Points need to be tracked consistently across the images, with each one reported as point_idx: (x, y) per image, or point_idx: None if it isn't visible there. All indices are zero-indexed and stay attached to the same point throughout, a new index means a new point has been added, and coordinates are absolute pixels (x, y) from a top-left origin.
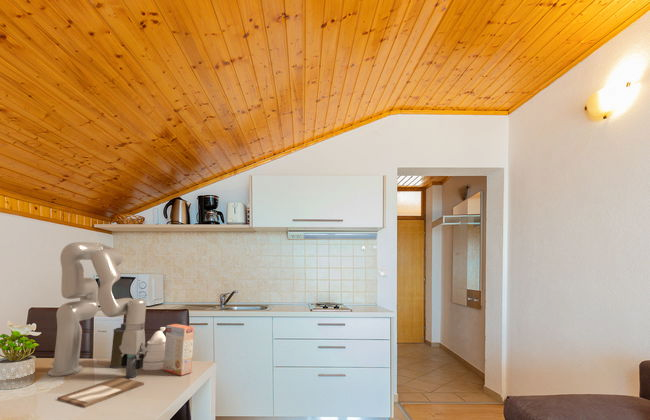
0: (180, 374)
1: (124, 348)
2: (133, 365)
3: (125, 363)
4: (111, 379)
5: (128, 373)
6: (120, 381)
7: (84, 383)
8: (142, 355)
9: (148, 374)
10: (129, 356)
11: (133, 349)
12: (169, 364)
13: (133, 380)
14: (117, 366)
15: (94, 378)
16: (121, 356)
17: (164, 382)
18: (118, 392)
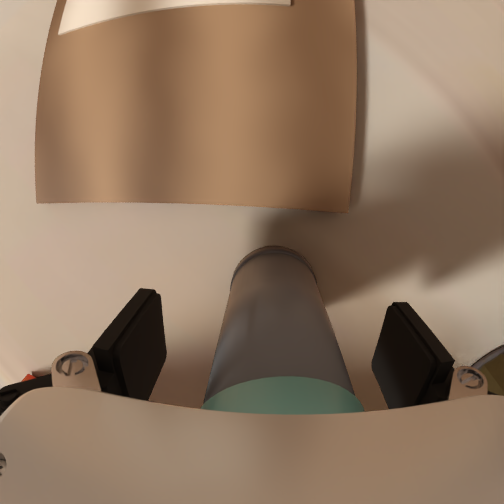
0: (27, 377)
1: (472, 496)
2: (222, 331)
3: (388, 348)
4: (348, 140)
5: (261, 264)
6: (214, 130)
7: (474, 64)
8: (4, 393)
9: (195, 367)
10: (263, 390)
11: (21, 484)
12: None
13: (129, 200)
14: (489, 363)
15: (499, 164)
16: (472, 371)
17: (4, 280)
18: (54, 14)
